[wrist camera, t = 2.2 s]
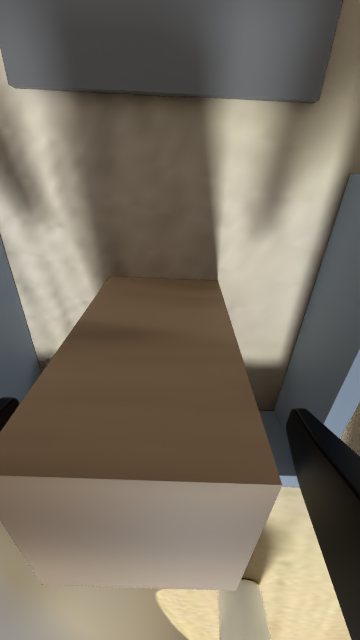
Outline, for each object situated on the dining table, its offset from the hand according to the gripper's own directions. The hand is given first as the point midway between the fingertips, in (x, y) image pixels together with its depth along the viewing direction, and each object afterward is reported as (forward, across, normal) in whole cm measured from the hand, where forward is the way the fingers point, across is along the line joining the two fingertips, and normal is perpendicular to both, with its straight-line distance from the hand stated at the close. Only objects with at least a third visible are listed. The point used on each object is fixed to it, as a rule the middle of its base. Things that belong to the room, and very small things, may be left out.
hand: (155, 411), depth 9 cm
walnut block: (+5, 0, 0) cm, 5 cm away
